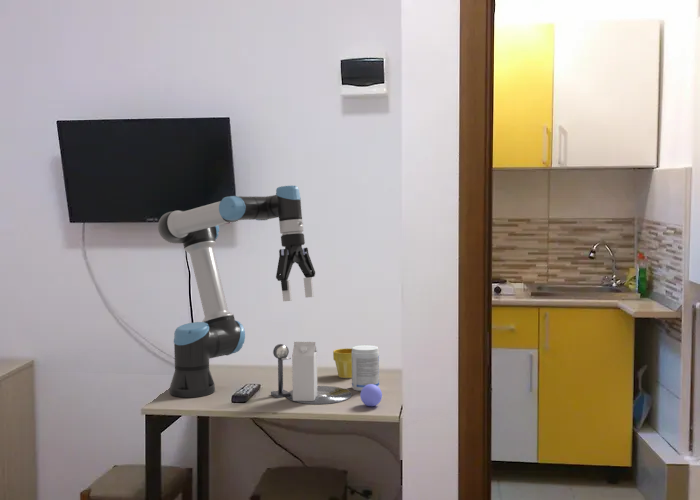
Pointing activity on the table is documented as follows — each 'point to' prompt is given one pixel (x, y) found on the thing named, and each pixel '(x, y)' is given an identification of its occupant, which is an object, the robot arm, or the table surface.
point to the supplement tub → (365, 366)
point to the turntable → (326, 395)
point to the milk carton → (304, 371)
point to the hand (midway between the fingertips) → (298, 299)
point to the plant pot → (343, 362)
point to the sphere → (371, 395)
